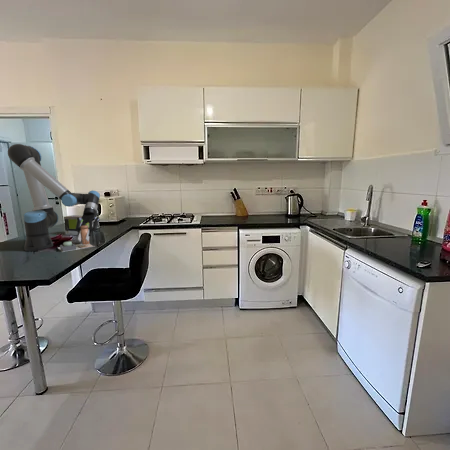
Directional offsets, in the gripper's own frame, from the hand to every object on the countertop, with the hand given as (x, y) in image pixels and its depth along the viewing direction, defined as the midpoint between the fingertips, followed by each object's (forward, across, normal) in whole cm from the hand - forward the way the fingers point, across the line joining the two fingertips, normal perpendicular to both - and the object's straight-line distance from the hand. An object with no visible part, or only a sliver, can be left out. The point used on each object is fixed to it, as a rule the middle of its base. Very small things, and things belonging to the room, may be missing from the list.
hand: (83, 240), depth 164 cm
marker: (0, 0, -5) cm, 5 cm away
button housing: (+6, +8, -3) cm, 10 cm away
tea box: (-32, +23, -40) cm, 56 cm away
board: (+2, +6, -6) cm, 9 cm away
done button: (+4, +8, -1) cm, 9 cm away
